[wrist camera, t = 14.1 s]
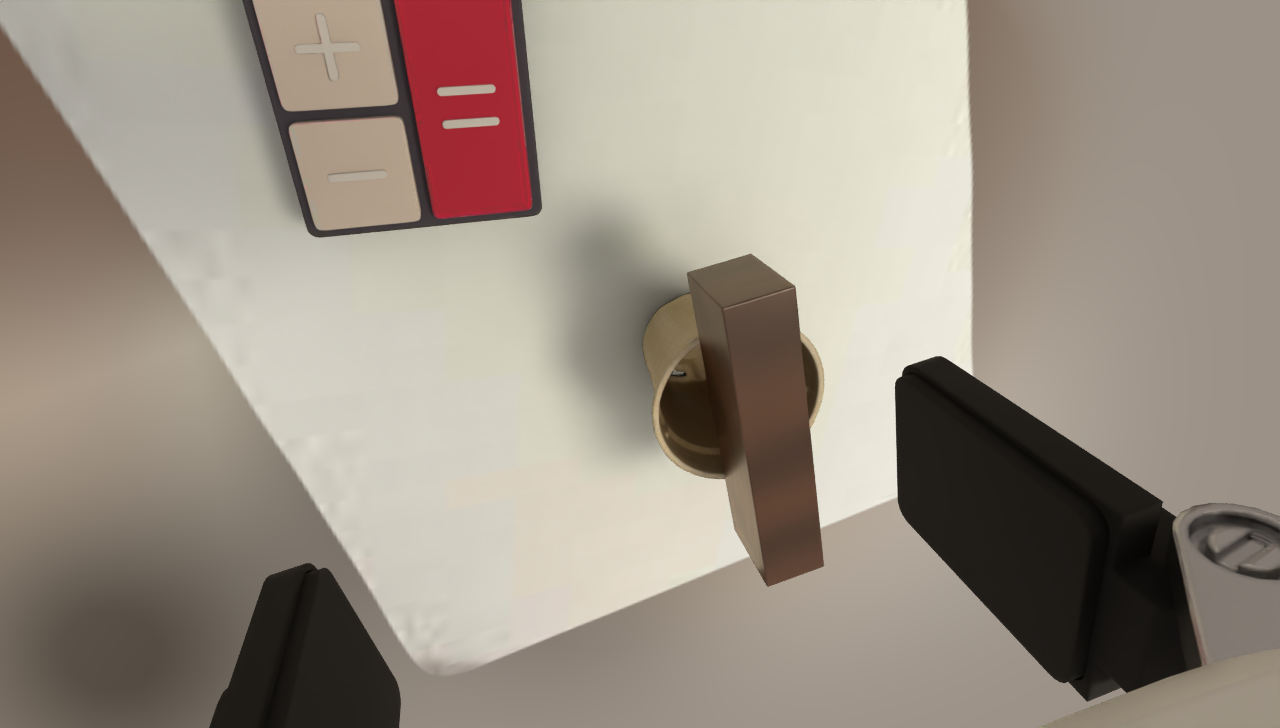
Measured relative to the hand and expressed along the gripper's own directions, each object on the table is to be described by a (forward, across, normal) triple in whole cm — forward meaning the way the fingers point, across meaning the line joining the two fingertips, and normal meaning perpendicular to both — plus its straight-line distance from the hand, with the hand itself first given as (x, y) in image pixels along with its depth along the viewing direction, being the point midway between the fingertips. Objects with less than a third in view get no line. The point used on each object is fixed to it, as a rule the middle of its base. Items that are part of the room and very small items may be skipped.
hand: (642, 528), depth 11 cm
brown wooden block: (+20, -8, +12) cm, 24 cm away
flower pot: (+28, -8, +12) cm, 32 cm away
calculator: (+28, +3, -7) cm, 30 cm away
